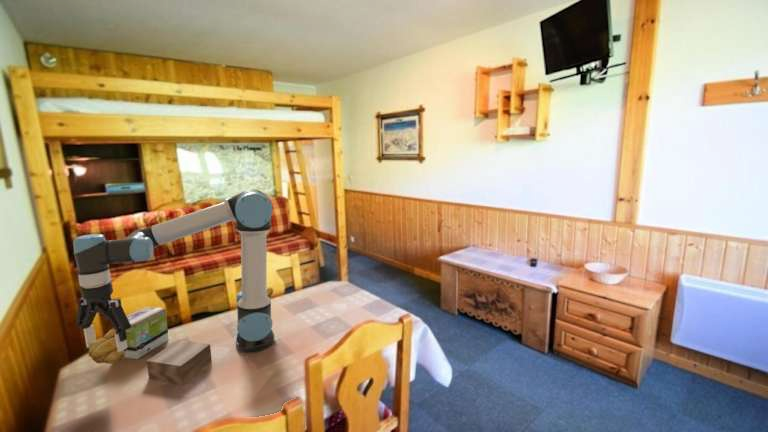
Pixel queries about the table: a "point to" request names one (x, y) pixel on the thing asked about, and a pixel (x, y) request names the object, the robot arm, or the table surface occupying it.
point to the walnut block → (179, 362)
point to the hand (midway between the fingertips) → (107, 347)
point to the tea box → (146, 331)
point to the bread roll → (106, 349)
